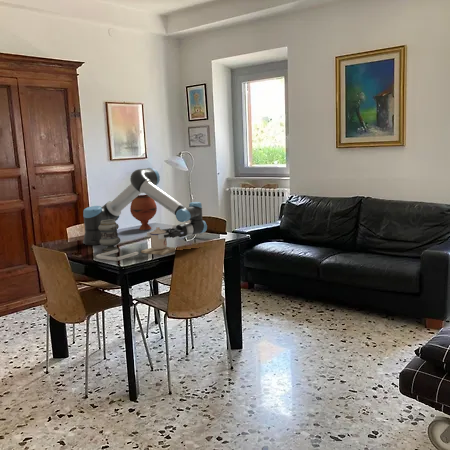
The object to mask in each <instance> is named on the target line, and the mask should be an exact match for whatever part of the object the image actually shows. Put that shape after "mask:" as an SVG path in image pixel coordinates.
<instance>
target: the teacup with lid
mask: <svg viewBox="0 0 450 450" xmlns="http://www.w3.org/2000/svg"><path fill="white" fill-rule="evenodd" d="M150 232H151V233H150V234H151V237H150V240H151V241H150V242H151V248H153V249H163V248H166V247H168V243H167V238H164V239H158V235H159V234H164V233H166V231H164V230H162V228H160V227H156V229H154V230H152V231H150Z"/></svg>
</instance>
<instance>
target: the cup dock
mask: <svg viewBox="0 0 450 450" xmlns="http://www.w3.org/2000/svg"><path fill="white" fill-rule="evenodd" d="M116 253H119V250H118V249H116V250H112V251H109V252H102V253H98V252H97V253H96V254H95V259H100V260H109V261H116V262H118V261H121V260H125V259H128V258H132V257H135V256H137V255H139V251H135V252H131V253H128V254H127V253H126V254H123V255H121V256H117V257H116V256H110V255H113V254H116Z"/></svg>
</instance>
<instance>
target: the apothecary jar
mask: <svg viewBox="0 0 450 450" xmlns="http://www.w3.org/2000/svg"><path fill="white" fill-rule="evenodd" d="M119 227H120V226H119V223H117V221H115V220H103V221H101V224H100V225H99V227H98V229H99V230H100V231H101V239H100V244H99V245H101V246H103V247H105V248H103V249H102V253H105V252H109V251H112V250H116V249H118V251H119V250H120V248H119V247H117V245H118V244H120V242H121V239H120V238H121V237H119V236H118V229H119Z"/></svg>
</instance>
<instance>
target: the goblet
mask: <svg viewBox="0 0 450 450" xmlns="http://www.w3.org/2000/svg"><path fill="white" fill-rule="evenodd" d="M129 209H130V214H131V216H132V217H133V218H134V219H136V220H137V221H139V222H140V224H141V225H140V226H139V231H145V230H151V229H152V226H150V225H149V221H151V220H152V219H153V218H154V217H155V215H156V213H157V209H158V208H157V202H156V201H155V200H153V199H152V198H151V197H149V196H148V195H146V194H139V195H138V196H137V197H136V198H135V199H134V200H133V201H132V202H130V207H129Z"/></svg>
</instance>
